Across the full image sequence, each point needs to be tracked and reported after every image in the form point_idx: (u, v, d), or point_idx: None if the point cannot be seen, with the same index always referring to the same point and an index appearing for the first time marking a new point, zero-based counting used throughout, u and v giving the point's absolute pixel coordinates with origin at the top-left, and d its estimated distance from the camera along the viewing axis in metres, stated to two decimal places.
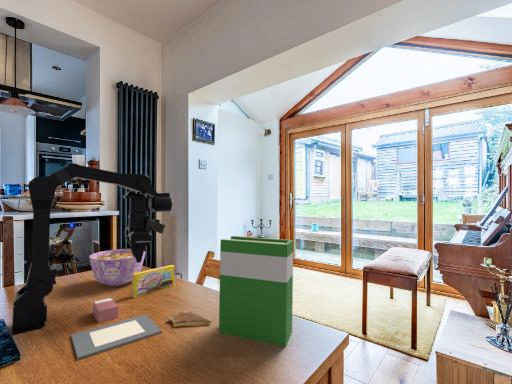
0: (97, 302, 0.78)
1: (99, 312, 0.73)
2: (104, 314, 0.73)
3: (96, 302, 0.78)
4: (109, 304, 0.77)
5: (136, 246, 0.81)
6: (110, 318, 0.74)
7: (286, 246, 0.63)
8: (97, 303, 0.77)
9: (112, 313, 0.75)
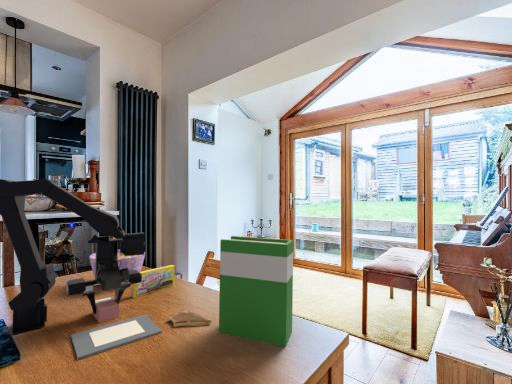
0: (97, 301, 0.78)
1: (100, 311, 0.73)
2: (105, 313, 0.73)
3: (96, 301, 0.78)
4: (109, 303, 0.77)
5: None
6: (111, 317, 0.74)
7: (286, 246, 0.63)
8: (97, 302, 0.77)
9: (113, 312, 0.75)
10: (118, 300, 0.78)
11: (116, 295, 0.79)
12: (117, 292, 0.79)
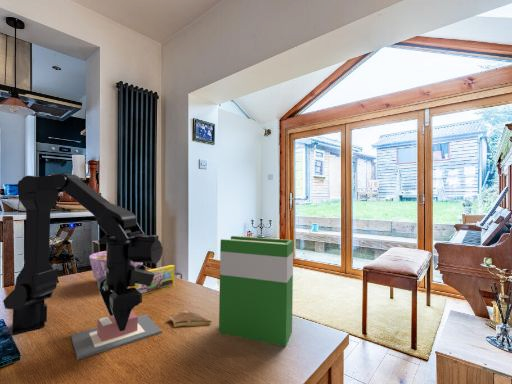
0: (108, 322, 0.64)
1: (137, 318, 0.68)
2: None
3: (108, 323, 0.63)
4: None
5: (119, 311, 0.61)
6: None
7: (286, 246, 0.63)
8: (111, 322, 0.64)
9: None
10: None
11: None
12: None
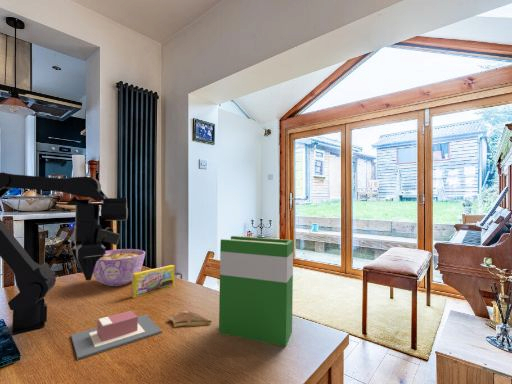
0: (108, 322, 0.64)
1: (137, 318, 0.68)
2: None
3: (108, 323, 0.63)
4: (119, 316, 0.68)
5: (85, 261, 0.70)
6: None
7: (286, 246, 0.63)
8: (111, 322, 0.64)
9: None
10: None
11: None
12: None
